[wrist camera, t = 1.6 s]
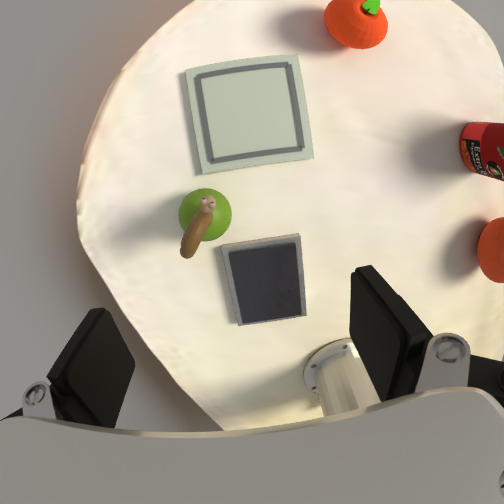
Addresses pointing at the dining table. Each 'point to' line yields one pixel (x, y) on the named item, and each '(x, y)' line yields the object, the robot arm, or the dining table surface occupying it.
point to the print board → (249, 112)
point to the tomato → (492, 250)
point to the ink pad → (266, 279)
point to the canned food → (484, 148)
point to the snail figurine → (203, 219)
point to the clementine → (356, 22)
